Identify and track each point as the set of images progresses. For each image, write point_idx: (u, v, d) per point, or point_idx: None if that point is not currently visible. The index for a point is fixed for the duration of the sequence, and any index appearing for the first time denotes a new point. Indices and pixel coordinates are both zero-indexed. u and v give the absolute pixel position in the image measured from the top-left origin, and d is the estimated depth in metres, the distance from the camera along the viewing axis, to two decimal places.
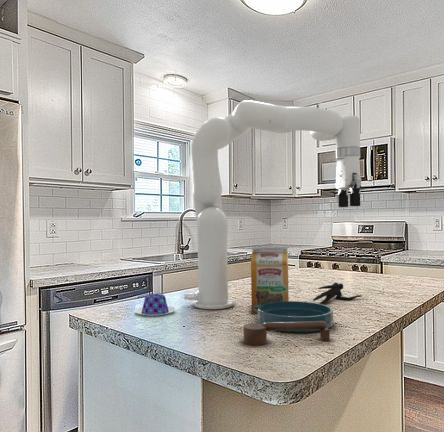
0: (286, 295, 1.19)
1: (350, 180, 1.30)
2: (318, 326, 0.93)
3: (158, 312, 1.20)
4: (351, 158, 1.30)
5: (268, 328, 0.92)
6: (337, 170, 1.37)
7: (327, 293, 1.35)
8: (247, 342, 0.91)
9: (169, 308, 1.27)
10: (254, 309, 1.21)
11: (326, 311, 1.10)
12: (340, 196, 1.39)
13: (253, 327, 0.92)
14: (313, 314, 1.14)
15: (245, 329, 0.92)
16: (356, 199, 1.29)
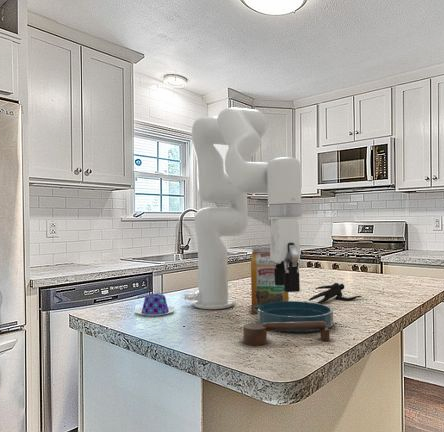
0: (286, 295, 1.19)
1: (284, 254, 0.89)
2: (318, 326, 0.93)
3: (158, 312, 1.20)
4: (286, 221, 0.89)
5: (268, 328, 0.92)
6: (271, 234, 0.96)
7: (325, 293, 1.35)
8: (247, 342, 0.91)
9: (169, 308, 1.27)
10: (254, 309, 1.21)
11: (326, 311, 1.10)
12: (277, 270, 0.98)
13: (253, 327, 0.92)
14: (313, 314, 1.14)
15: (245, 329, 0.92)
16: (293, 282, 0.88)
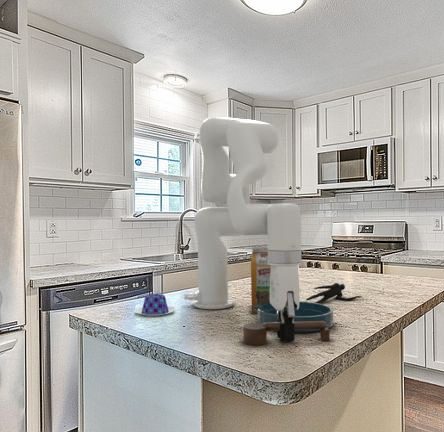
0: None
1: (284, 302, 0.88)
2: (318, 326, 0.93)
3: (158, 312, 1.20)
4: (286, 269, 0.89)
5: (268, 328, 0.92)
6: (270, 278, 0.96)
7: (324, 293, 1.35)
8: (247, 342, 0.91)
9: (169, 308, 1.27)
10: (254, 309, 1.21)
11: (326, 311, 1.10)
12: None
13: (253, 327, 0.92)
14: (313, 314, 1.14)
15: (245, 329, 0.92)
16: (288, 332, 0.91)
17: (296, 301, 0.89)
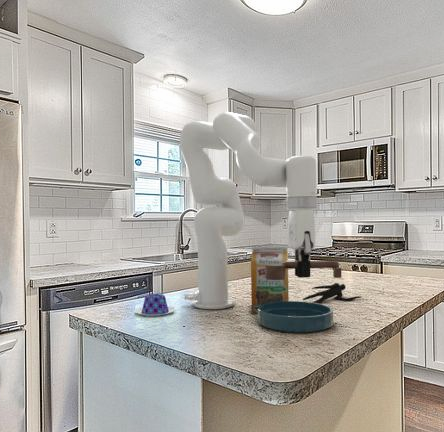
0: (286, 295, 1.19)
1: (301, 241, 1.01)
2: (331, 265, 1.05)
3: (158, 312, 1.20)
4: (303, 212, 1.01)
5: (287, 266, 1.05)
6: (289, 224, 1.08)
7: (322, 293, 1.36)
8: (269, 277, 1.04)
9: (169, 308, 1.27)
10: (254, 309, 1.21)
11: (326, 311, 1.10)
12: None
13: (274, 265, 1.04)
14: (313, 314, 1.14)
15: (267, 266, 1.04)
16: (305, 269, 1.03)
17: (312, 240, 1.01)
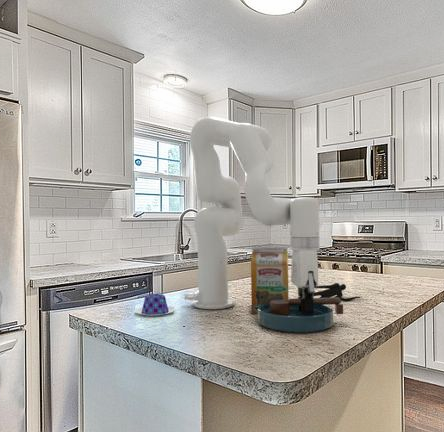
0: (286, 295, 1.19)
1: (305, 280, 1.05)
2: (333, 301, 1.09)
3: (158, 312, 1.20)
4: (307, 252, 1.05)
5: (291, 303, 1.09)
6: (292, 261, 1.12)
7: (321, 293, 1.36)
8: None
9: (169, 308, 1.27)
10: (254, 309, 1.21)
11: (326, 311, 1.10)
12: None
13: (278, 302, 1.08)
14: (313, 314, 1.14)
15: (272, 304, 1.08)
16: (308, 306, 1.08)
17: (316, 279, 1.05)
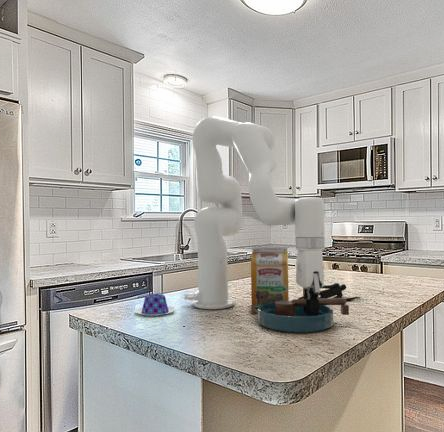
0: (286, 295, 1.19)
1: (311, 281, 1.04)
2: (339, 302, 1.08)
3: (158, 312, 1.20)
4: (312, 252, 1.04)
5: (296, 303, 1.08)
6: (297, 261, 1.11)
7: (320, 293, 1.36)
8: None
9: (169, 308, 1.27)
10: (254, 309, 1.21)
11: (326, 311, 1.10)
12: None
13: (283, 303, 1.07)
14: None
15: (277, 305, 1.07)
16: (313, 307, 1.07)
17: (321, 280, 1.04)
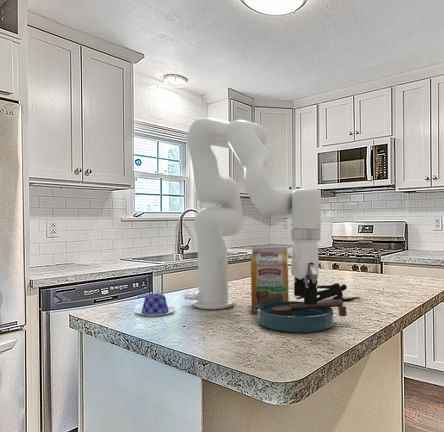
0: (286, 295, 1.19)
1: (305, 272, 1.04)
2: (336, 304, 1.08)
3: (158, 312, 1.20)
4: (307, 244, 1.05)
5: (293, 308, 1.08)
6: (293, 253, 1.12)
7: (319, 293, 1.36)
8: None
9: (169, 308, 1.27)
10: (254, 309, 1.21)
11: (326, 311, 1.10)
12: (296, 283, 1.14)
13: (281, 308, 1.07)
14: (313, 314, 1.14)
15: (274, 311, 1.07)
16: (312, 296, 1.04)
17: None
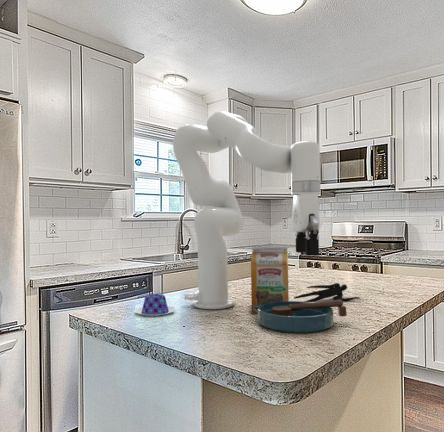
0: (286, 295, 1.19)
1: (306, 223, 1.04)
2: (336, 304, 1.08)
3: (158, 312, 1.20)
4: (308, 195, 1.04)
5: (293, 308, 1.08)
6: (293, 208, 1.11)
7: (318, 292, 1.36)
8: None
9: (169, 308, 1.27)
10: (254, 309, 1.21)
11: (326, 311, 1.10)
12: (298, 239, 1.13)
13: (281, 308, 1.07)
14: (313, 314, 1.14)
15: (274, 311, 1.07)
16: (313, 247, 1.03)
17: None
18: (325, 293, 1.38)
